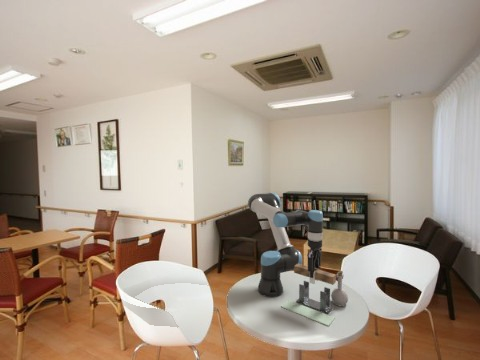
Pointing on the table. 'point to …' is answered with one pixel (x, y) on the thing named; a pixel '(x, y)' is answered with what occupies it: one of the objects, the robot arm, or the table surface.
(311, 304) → the rack
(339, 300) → the potion bottle
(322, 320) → the mat
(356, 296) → the table surface
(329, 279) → the rail
